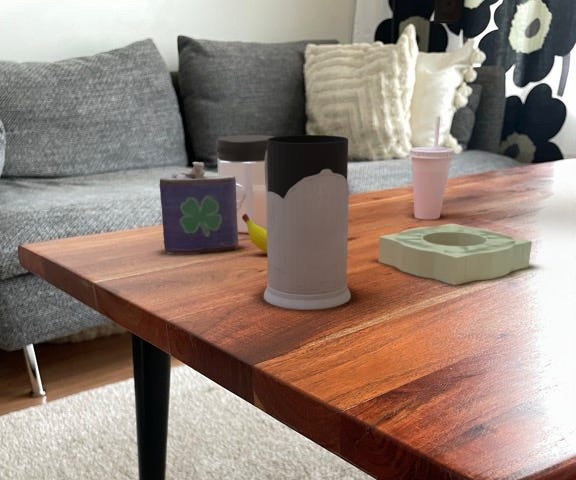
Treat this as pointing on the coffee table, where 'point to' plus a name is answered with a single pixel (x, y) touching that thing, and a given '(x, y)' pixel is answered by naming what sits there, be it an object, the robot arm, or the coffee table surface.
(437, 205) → the smoothie
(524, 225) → the coffee table surface
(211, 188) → the flask
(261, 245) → the fruit
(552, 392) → the coffee table surface
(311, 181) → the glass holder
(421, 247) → the ashtray
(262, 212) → the jar
